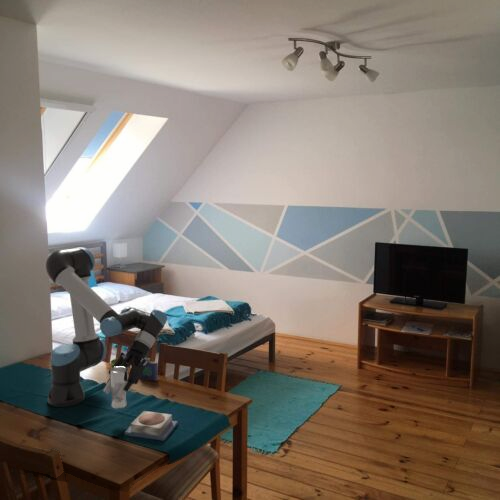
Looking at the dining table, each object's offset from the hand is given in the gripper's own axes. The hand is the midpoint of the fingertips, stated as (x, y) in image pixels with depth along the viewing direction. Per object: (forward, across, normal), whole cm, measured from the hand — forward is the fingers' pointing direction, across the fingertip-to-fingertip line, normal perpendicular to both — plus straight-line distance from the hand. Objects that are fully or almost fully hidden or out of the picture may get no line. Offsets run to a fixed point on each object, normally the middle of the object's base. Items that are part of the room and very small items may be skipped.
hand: (112, 395), depth 211 cm
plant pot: (-16, +33, -35) cm, 51 cm away
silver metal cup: (+2, 0, -6) cm, 7 cm away
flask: (-21, +22, -40) cm, 50 cm away
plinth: (+3, -15, -13) cm, 20 cm away
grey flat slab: (+4, -15, -13) cm, 20 cm away
